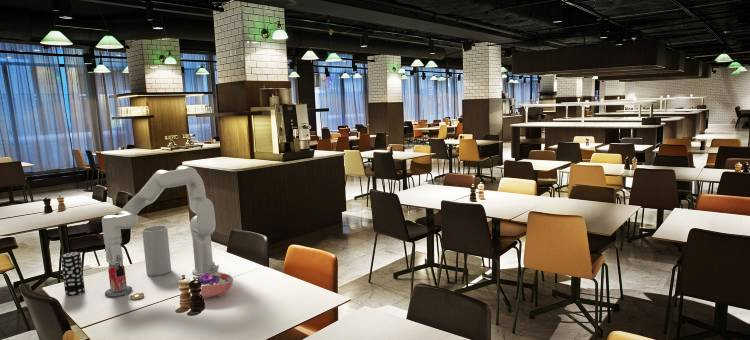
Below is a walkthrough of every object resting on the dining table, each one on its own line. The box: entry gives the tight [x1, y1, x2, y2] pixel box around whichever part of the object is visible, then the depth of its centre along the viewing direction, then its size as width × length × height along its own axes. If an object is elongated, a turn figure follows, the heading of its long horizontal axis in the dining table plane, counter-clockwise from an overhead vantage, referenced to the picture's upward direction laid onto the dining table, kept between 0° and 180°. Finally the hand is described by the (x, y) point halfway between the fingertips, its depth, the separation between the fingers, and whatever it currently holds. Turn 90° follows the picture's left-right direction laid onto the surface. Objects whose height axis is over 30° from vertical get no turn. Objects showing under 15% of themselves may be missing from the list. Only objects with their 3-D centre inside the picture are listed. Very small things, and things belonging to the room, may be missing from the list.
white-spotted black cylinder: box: [60, 251, 86, 297], centre depth 238 cm, size 8×8×20 cm
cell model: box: [195, 272, 234, 298], centre depth 230 cm, size 17×20×11 cm
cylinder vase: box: [141, 225, 172, 277], centre depth 264 cm, size 12×12×25 cm
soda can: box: [107, 264, 128, 292], centre depth 237 cm, size 7×7×13 cm
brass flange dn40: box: [129, 292, 145, 301], centre depth 231 cm, size 6×6×1 cm
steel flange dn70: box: [104, 285, 133, 298], centre depth 238 cm, size 12×12×2 cm
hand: (116, 273), depth 237 cm, fingers open, 9 cm apart
